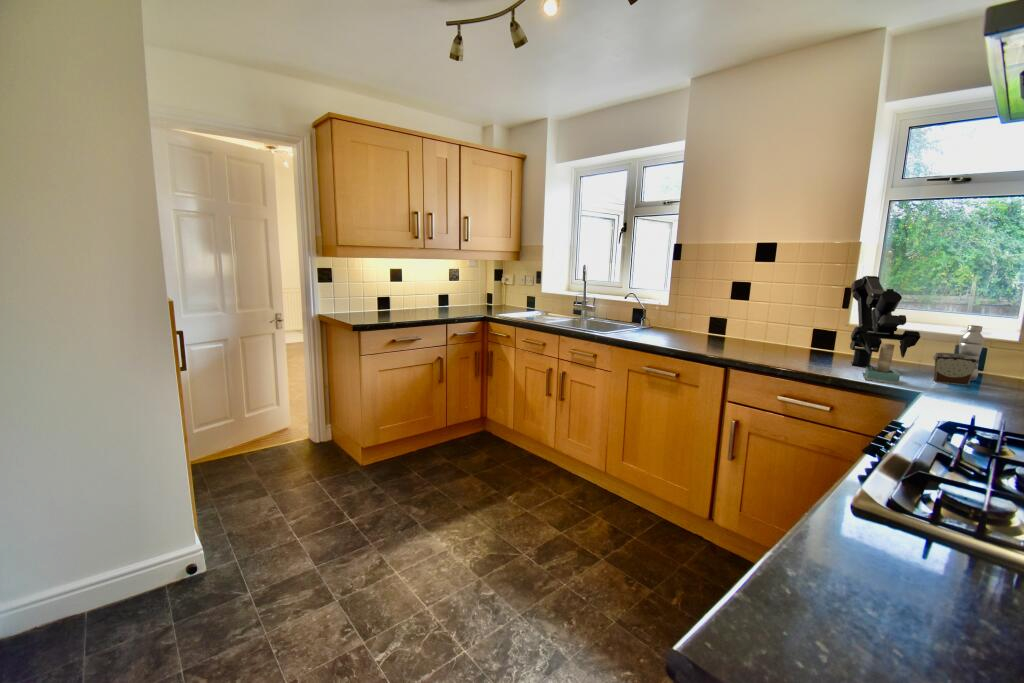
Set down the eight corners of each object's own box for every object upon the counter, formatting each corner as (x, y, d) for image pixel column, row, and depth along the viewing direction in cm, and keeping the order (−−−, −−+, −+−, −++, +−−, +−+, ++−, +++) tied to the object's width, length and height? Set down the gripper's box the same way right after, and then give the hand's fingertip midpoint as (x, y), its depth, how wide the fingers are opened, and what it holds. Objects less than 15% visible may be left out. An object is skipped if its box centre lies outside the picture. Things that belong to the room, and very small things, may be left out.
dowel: (872, 375, 165) (878, 343, 163) (881, 375, 166) (888, 343, 163) (880, 378, 162) (887, 345, 159) (890, 378, 162) (897, 345, 160)
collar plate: (862, 374, 171) (863, 366, 170) (896, 379, 165) (898, 370, 165) (864, 379, 162) (866, 370, 162) (901, 385, 157) (903, 375, 156)
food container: (963, 381, 166) (969, 354, 164) (973, 385, 160) (980, 357, 158) (921, 377, 170) (926, 351, 168) (930, 381, 164) (935, 354, 162)
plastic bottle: (981, 383, 164) (993, 327, 161) (959, 381, 166) (971, 326, 162) (967, 378, 171) (979, 325, 167) (946, 377, 172) (957, 324, 168)
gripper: (858, 304, 166) (861, 338, 158) (923, 308, 159) (930, 344, 151) (849, 323, 175) (851, 357, 167) (911, 328, 168) (916, 363, 160)
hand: (886, 355), depth 161 cm, fingers open, 9 cm apart
